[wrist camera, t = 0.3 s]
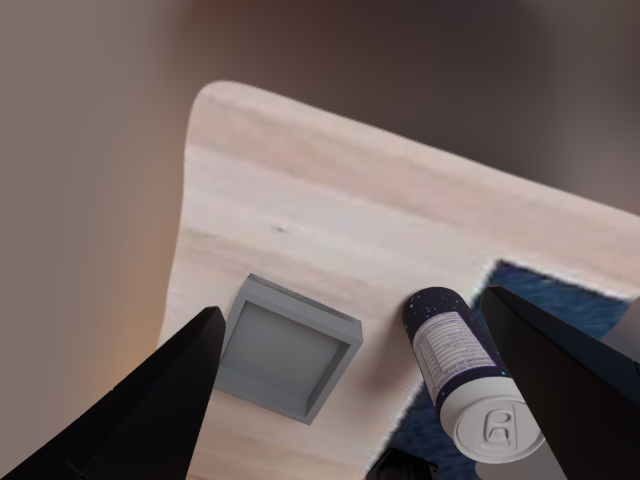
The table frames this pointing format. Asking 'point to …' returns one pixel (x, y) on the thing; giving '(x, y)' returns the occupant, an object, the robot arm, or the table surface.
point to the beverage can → (468, 379)
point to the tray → (284, 349)
